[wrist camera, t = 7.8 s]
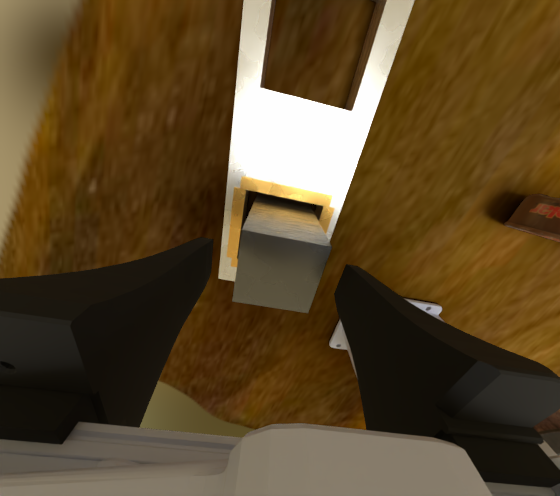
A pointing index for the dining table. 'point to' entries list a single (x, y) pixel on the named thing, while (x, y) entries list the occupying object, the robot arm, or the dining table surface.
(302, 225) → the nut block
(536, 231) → the tin
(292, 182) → the white rectangular board
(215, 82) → the dining table surface
